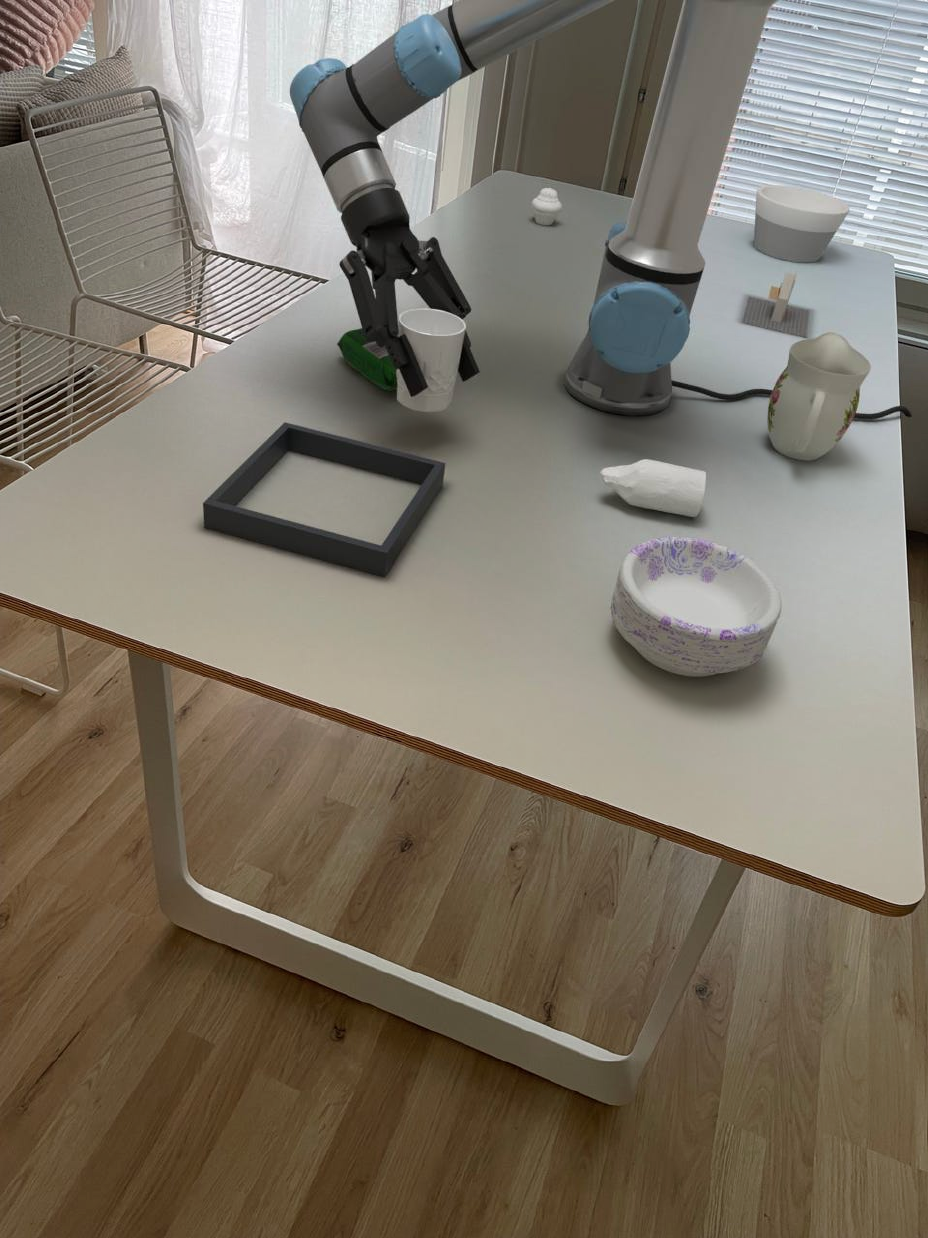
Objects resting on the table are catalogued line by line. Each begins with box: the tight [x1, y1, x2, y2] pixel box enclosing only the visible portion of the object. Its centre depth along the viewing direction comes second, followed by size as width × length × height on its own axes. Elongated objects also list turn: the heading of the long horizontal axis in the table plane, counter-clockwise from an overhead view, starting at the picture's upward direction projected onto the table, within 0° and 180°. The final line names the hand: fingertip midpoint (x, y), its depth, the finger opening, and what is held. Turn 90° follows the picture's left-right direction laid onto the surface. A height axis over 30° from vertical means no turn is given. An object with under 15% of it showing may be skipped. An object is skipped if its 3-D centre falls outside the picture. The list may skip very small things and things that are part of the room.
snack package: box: [336, 327, 397, 392], centre depth 132 cm, size 7×16×5 cm, turn 36°
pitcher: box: [767, 332, 872, 461], centre depth 127 cm, size 11×18×14 cm, turn 160°
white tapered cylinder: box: [599, 458, 707, 518], centre depth 114 cm, size 6×12×6 cm, turn 82°
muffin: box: [531, 187, 562, 226], centre depth 199 cm, size 6×6×7 cm
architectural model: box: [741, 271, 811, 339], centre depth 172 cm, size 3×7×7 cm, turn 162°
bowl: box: [753, 184, 851, 264], centre depth 203 cm, size 19×19×11 cm
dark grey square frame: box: [202, 421, 446, 578], centre depth 106 cm, size 20×20×3 cm
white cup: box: [396, 307, 467, 413], centre depth 116 cm, size 8×8×10 cm
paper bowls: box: [610, 536, 783, 678], centre depth 92 cm, size 15×15×8 cm
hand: (445, 384), depth 115 cm, fingers closed on white cup, 8 cm apart
